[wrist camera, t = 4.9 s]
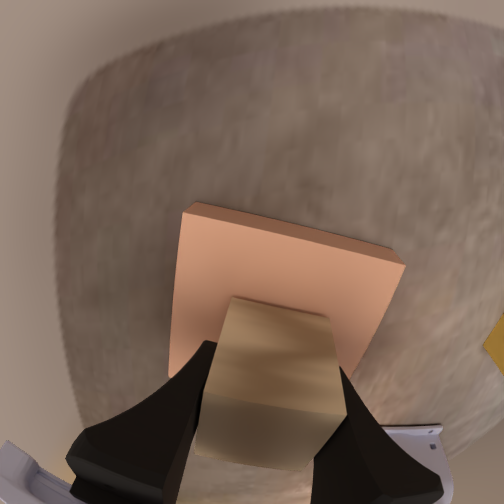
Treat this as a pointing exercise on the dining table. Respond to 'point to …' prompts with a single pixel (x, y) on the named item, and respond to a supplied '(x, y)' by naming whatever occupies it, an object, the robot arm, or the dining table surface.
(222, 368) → the beech block
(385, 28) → the dining table surface
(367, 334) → the riser
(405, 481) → the robot arm
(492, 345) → the mustard block
